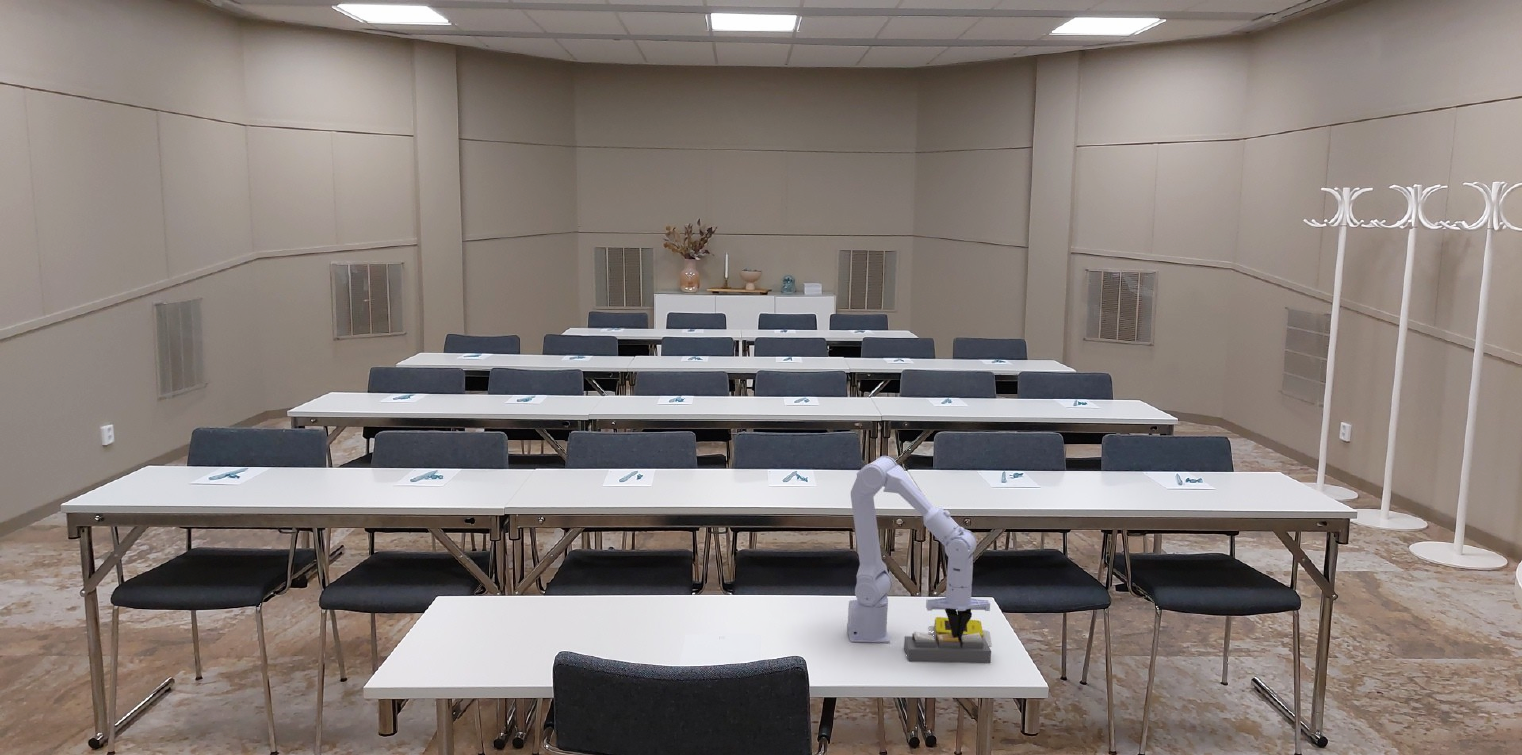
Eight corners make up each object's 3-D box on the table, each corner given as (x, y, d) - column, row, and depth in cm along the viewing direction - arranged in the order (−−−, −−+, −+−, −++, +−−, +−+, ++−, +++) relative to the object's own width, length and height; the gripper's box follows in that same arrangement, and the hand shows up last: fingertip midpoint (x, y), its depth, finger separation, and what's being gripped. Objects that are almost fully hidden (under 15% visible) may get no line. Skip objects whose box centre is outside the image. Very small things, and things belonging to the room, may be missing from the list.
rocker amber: (939, 644, 248) (939, 639, 247) (937, 639, 250) (937, 634, 250) (958, 641, 248) (958, 637, 247) (956, 636, 250) (955, 632, 250)
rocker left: (915, 640, 247) (916, 636, 247) (913, 635, 250) (914, 631, 250) (933, 644, 248) (935, 640, 247) (931, 639, 250) (932, 635, 250)
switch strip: (908, 661, 246) (909, 644, 245) (903, 648, 253) (904, 631, 252) (990, 663, 246) (991, 645, 246) (983, 649, 253) (984, 632, 252)
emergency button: (929, 611, 265) (990, 616, 263) (928, 627, 266) (989, 633, 264) (929, 626, 256) (993, 632, 254) (928, 643, 257) (992, 649, 255)
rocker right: (963, 645, 248) (962, 640, 248) (960, 639, 250) (960, 635, 250) (982, 641, 248) (981, 637, 247) (979, 636, 250) (978, 632, 250)
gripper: (931, 589, 242) (928, 645, 245) (994, 590, 243) (991, 646, 245) (925, 578, 249) (923, 632, 252) (987, 578, 250) (984, 633, 252)
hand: (956, 638), depth 249 cm, fingers closed, pressing on rocker amber
